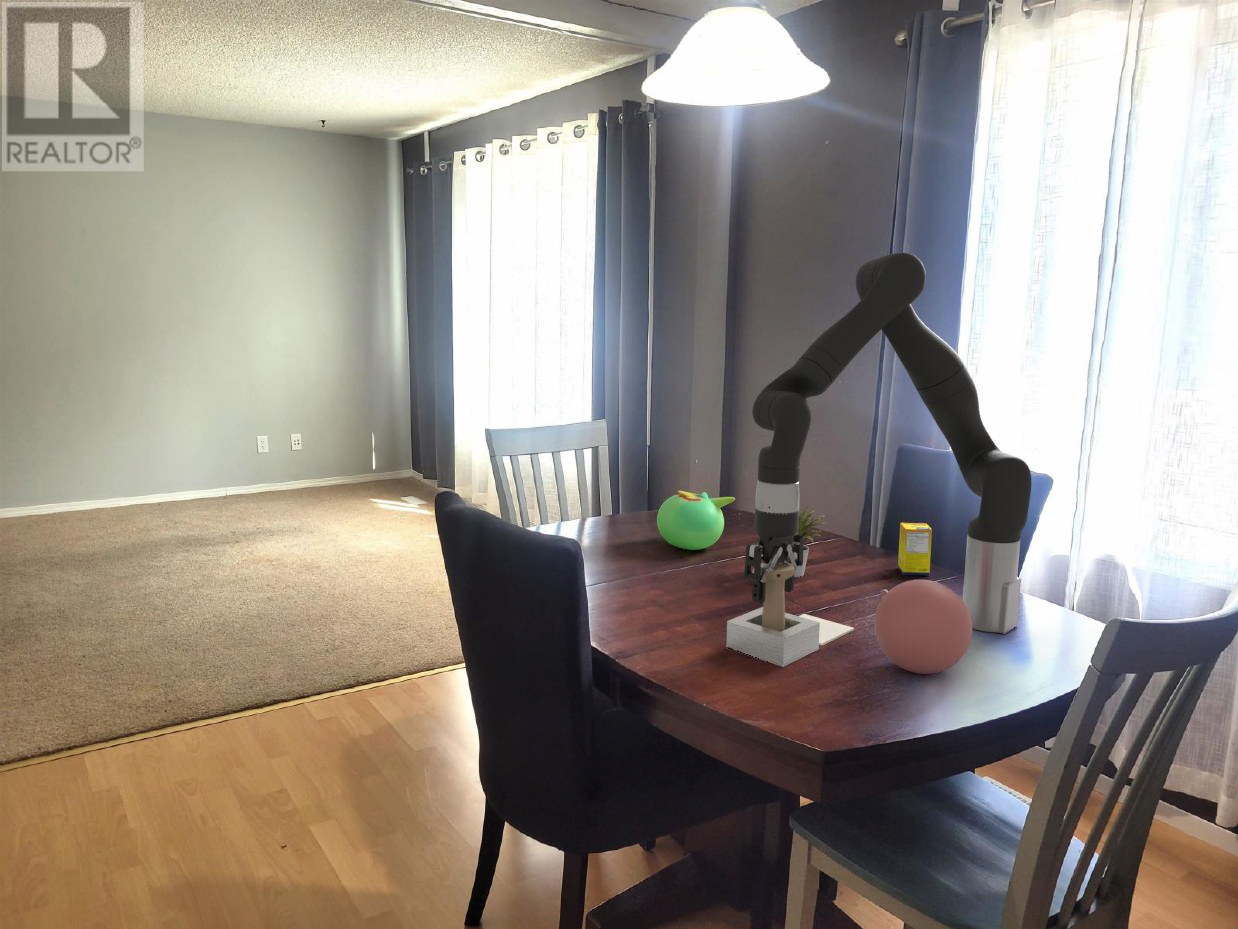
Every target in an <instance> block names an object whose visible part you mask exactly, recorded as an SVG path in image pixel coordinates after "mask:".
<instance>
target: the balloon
mask: <svg viewBox="0 0 1238 929" xmlns="http://www.w3.org/2000/svg"><path fill="white" fill-rule="evenodd" d="M879 592H880V594H879V595H878V597H877V598H878V601H879V604H878V605H877V608H876V611H875V614H874V622H873V624H874V634H875V638H876V642H877V643H878V646H879V647H880V650H882V652H883V653H884V655H885V656H886V657H887V658H888V659H889V660H890V661H891V662H892V663H893V664H895V665H896V666H898V667H900V668H902V669H904V670H905V671H908V672H911V673H916V674H920V675H928V674H938V673H940V672H944V671H946V670H949V669H950V668H952V667H954V666H955V665H956V664H957V663H958V662H960V661H961V660H962V659H963V657H964V656H965V654H967V652H968V649H969V647H970V645H971V641H972V637H973V628H972V621H971V617H970V614H969V611H968V609H967V607H966V605H965V603H964V602H963V598H961V597H960V596H959V595H958V593H956V592H955V591H954V590H953V589H951V588H950V587H948V586H946V585H944V584H942V583H941V582H938V581H934V580H929V579H913V580H912V579H911V580H906V581H904V582H901V583H899V584H897V585H896V586H894V587H892V588H891V589H890V590H887V589H886V588H885V589H881V590H880V591H879Z"/></svg>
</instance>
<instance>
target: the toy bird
mask: <svg viewBox="0 0 1238 929" xmlns="http://www.w3.org/2000/svg"><path fill="white" fill-rule="evenodd" d="M734 501H736V498H735V497H734V496H724V497H723V496H722V497H714V498H713V497H712V498H711V497H710V498H709V495H708V493H706V492H704V491H703V492H702V493H700V494H698V493H695V492H687V491H684V490H677V494H674V495H672V496H670V497H669V498H667V499H666V500H664V502H663V503H662V504H661V506H660V507H659V509H658V512H657V516H656V524H657V528H658V532H659V534H660V535H661V537H662V538H663V539H664V540H665V541H666V542H667V543H669V544H670V545H672V546H674V547H676V548H679V549H681V548H682V549H681V550H686V549H687V550H686V551H698V550H699V551H700V550H703V549H706V548H708V547H711V546H713V545H714V544H715V543H717V541H718V540H719V539H720V537H721V536H722V534H723V531H724V527H725V518H724V515H723V511H722V510H721V508H723V507H724V506H726V505H729V504H731V503H733V502H734Z"/></svg>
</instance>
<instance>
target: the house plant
mask: <svg viewBox="0 0 1238 929" xmlns="http://www.w3.org/2000/svg"><path fill="white" fill-rule="evenodd" d="M808 507H809V505H806V506H805V508H804V509H803V510H802V511H801V513H799V523H798V533H799V534H803V564H802V566H798V567H797V570H796V571H795V572H794V578H801V577H803V576H804V574H805V571H806V565H807V560H808V557H809V556H808V554H809V552H810V551H809V550H810V547H809V546H807V545H805V544H804V543H805V542H806V541H807V540H810V541H811V542H812V543H813V544H814V539H813V537H817V536H819V537H821V533H820V530H807V529H809V528H813V527H816V526H819V525H825V524H827V522H817V521H822V520H824V519H822V518H821V517H824V515H820V516H816V517H814V518H812V515H813V514H814V513H815V512H816V511H817V509H813V510H811V511H810V512H808V513H807V514H806V512H807V510H808V509H809V508H808ZM805 514H806V515H805ZM794 556H795V558H797V553H795V552H794ZM800 576H801V577H800Z"/></svg>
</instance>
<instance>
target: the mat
mask: <svg viewBox="0 0 1238 929" xmlns="http://www.w3.org/2000/svg"><path fill="white" fill-rule="evenodd" d="M798 616H799V617H802V618H806V619H809V620H813V621H816V622H820V630H819V646H824V645H826V644H829V643H830V642H832V641H835V640H836V639H837V640H838V639H839V638H840V637H843V636H844V635H848V634H849V633H851V632H853V631H854V630H855V627H852V626H848V625H845V624H842V623H839V622H834V621H831V620H827V619H823V618H821V617H817V616H813V615H809V614H806V613H803V614H800V615H798Z"/></svg>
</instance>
